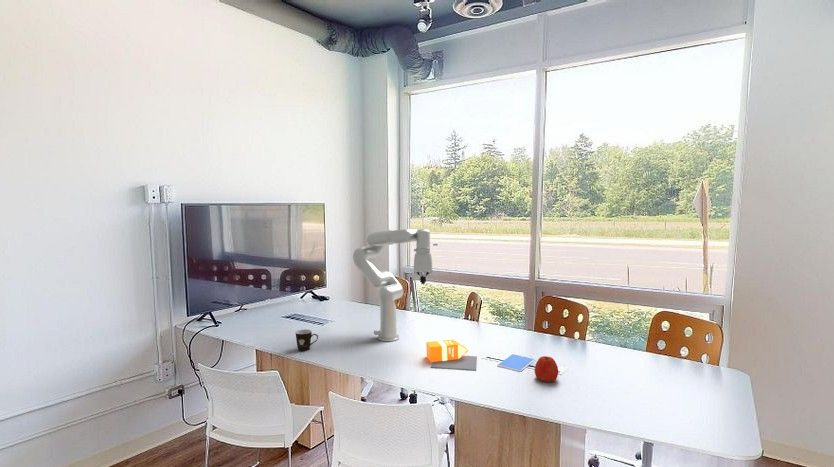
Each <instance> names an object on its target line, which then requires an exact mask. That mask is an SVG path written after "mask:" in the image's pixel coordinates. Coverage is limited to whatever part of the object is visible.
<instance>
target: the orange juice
mask: <svg viewBox="0 0 834 467" xmlns="http://www.w3.org/2000/svg"><path fill="white" fill-rule="evenodd" d="M425 344H426V357H427V359H428V360H429V361H430V363H432V362H436V361H446V360H454V359H459V358H460V357H462V356H465V355H466V353H468V352H469V349H468V348H467V347H465V346H464V344H461V343H459V342H457V341H456V340H455V339H444V340H434V341H426V343H425Z"/></svg>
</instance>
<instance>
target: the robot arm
mask: <svg viewBox="0 0 834 467" xmlns="http://www.w3.org/2000/svg"><path fill="white" fill-rule="evenodd" d="M366 242H367V243H368V245H363V246H359V247H357V248H356V249H354V251H353V254H352V259H353V264H354V265H355V267H356V268H357V269H358V271H360V272H361V273H362V275H363V276H364V278H365V279H366V280H367V282H369V283H370V284H371V286H372V287H373V288H376V289H380V290H379V291H378V300H379V311H380V313H379V315H380V317H379V318H380V330H373V335H375V336H376V335H377V340H379V341H381V342H394V341H397V340H399V339H400V335H399V334H398V333H397V306H396V305H397V304H396V303H395V301H396V300H399V299H401V298H402V297H403V296H404V288H403V286H402V284H401V283H400V282H399V281H398V280H397V278H396V277H395V276H394V274H392V273H391V272H390V271H388V270H379V269H378V268H377V267H376V266H375V265H374V264H373V263H372V262H371V261H369V260H373V259H376V258H377V257H378V256H379V255H380V254H381V252H382V251H383V249H384V248H385V247H386V246H391V245H395V244H396V245H397V244H404V243H405V244H406V243H411V242H412V243H413V242H416V243H415V244H416V247H415V248H414V249H413V252H415V253H414V258H413V273H414V274H416V275H418V277H419V278H420V280H419V281H420V284H421V285H425V283H427V276H428V275H431V274H433V273H434V272H433V258H432V253H431V245H430V244H431V231H430V229H427V228H426V229H425V228H423V229H422V228H420V229H419V228H415V227H414V228H403V229H394V230H391V229H389V230H381V231H373V232H370V233H369V234H367V237H366Z"/></svg>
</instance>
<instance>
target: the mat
mask: <svg viewBox="0 0 834 467" xmlns="http://www.w3.org/2000/svg"><path fill="white" fill-rule="evenodd" d="M477 359H478V356H475V355H463V356H462V357H460V358H459V359H454V360H446V361H436V362H431V364H430V368H432V369H448V370H458V371H459V370H461V371H475V372H476V371H477V365H478V364H477V363H478V360H477Z"/></svg>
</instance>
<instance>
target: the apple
mask: <svg viewBox="0 0 834 467" xmlns="http://www.w3.org/2000/svg"><path fill="white" fill-rule="evenodd" d="M534 376H535V377H536V378H537V380H539V381H541V382H544V383H551V382H552V383H553V382H555V381H557V379H558V376H559V367H558V365H557V362H556V361H555V359H554V358H553V357H552V356H547V355H543V356H540V357H539V358H538V359H537V361H536V363H535V366H534Z"/></svg>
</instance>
